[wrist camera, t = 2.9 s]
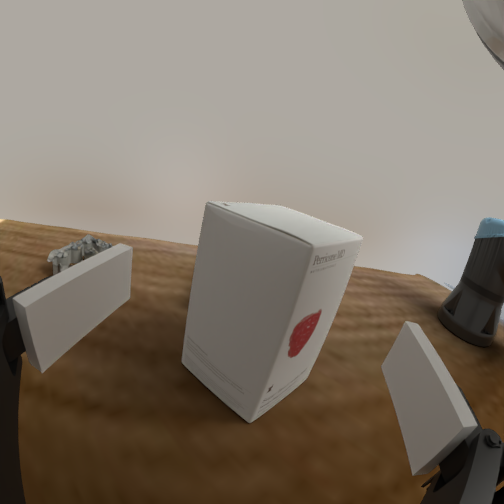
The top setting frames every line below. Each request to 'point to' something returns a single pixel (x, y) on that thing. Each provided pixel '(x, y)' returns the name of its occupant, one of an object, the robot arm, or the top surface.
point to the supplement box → (263, 300)
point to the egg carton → (76, 253)
